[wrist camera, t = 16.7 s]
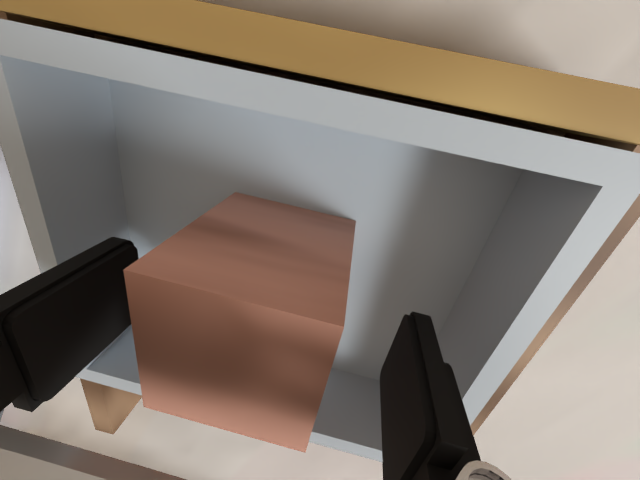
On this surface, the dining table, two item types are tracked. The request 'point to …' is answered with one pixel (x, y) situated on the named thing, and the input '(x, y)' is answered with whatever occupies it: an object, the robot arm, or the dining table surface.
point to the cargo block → (243, 317)
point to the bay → (365, 79)
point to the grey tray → (311, 199)
